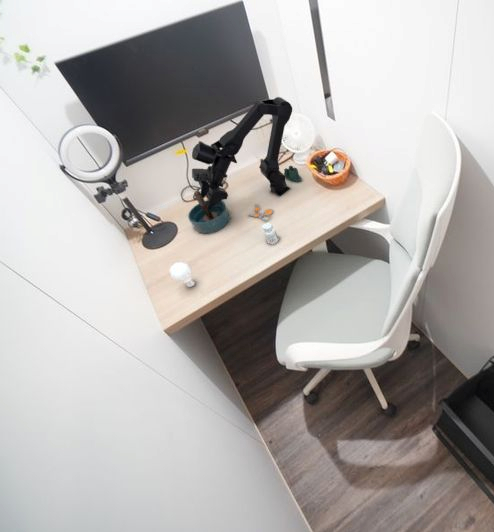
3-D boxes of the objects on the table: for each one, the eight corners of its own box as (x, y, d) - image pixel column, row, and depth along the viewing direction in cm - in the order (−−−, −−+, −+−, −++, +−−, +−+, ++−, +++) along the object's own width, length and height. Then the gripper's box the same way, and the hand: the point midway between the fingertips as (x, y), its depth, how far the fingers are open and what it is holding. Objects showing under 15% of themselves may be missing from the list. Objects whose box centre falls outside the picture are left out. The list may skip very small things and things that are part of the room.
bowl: (217, 205, 143) (211, 195, 138) (238, 218, 136) (232, 207, 131) (188, 225, 136) (181, 214, 131) (208, 239, 129) (201, 228, 124)
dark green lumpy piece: (304, 179, 149) (301, 170, 145) (297, 184, 147) (294, 174, 144) (289, 172, 155) (286, 162, 151) (282, 176, 153) (279, 167, 149)
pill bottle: (280, 238, 125) (275, 223, 119) (273, 245, 122) (267, 231, 116) (272, 235, 126) (266, 220, 120) (265, 242, 124) (258, 227, 118)
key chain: (277, 213, 135) (276, 211, 134) (264, 223, 131) (264, 221, 131) (256, 203, 140) (256, 202, 140) (244, 213, 137) (243, 212, 136)
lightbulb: (185, 279, 116) (169, 259, 107) (202, 276, 116) (187, 256, 107) (180, 293, 112) (163, 273, 103) (198, 291, 111) (182, 271, 103)
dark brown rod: (214, 214, 138) (198, 185, 127) (222, 219, 135) (206, 190, 124) (202, 222, 135) (185, 193, 124) (210, 227, 132) (193, 198, 121)
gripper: (191, 151, 123) (178, 186, 128) (206, 171, 112) (190, 209, 117) (219, 161, 131) (205, 194, 136) (235, 181, 121) (219, 216, 126)
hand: (205, 203), depth 129 cm, fingers open, 9 cm apart
